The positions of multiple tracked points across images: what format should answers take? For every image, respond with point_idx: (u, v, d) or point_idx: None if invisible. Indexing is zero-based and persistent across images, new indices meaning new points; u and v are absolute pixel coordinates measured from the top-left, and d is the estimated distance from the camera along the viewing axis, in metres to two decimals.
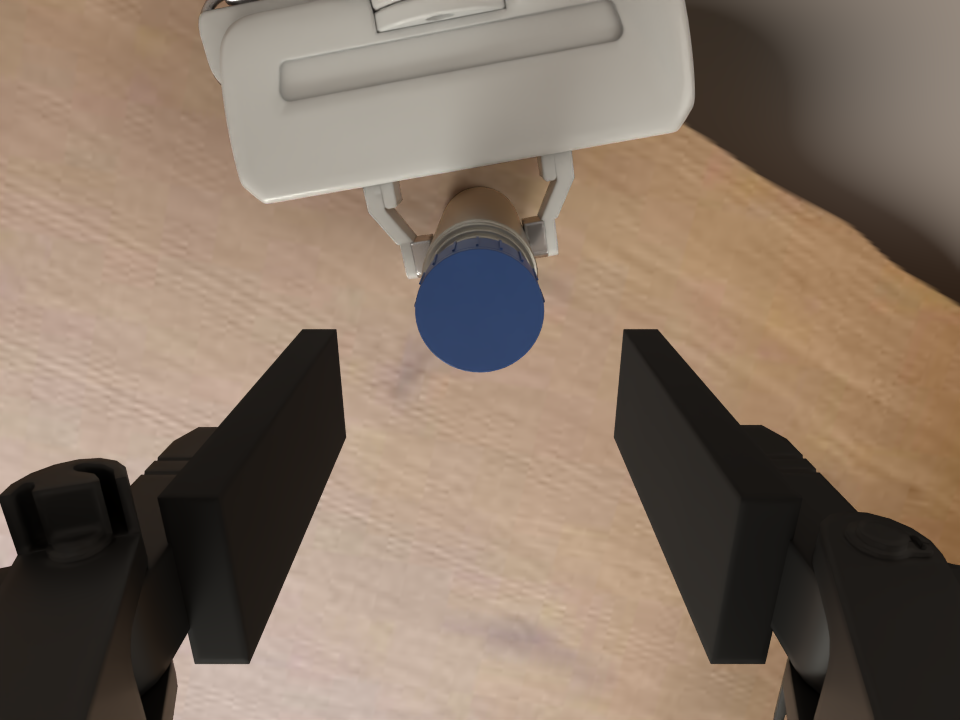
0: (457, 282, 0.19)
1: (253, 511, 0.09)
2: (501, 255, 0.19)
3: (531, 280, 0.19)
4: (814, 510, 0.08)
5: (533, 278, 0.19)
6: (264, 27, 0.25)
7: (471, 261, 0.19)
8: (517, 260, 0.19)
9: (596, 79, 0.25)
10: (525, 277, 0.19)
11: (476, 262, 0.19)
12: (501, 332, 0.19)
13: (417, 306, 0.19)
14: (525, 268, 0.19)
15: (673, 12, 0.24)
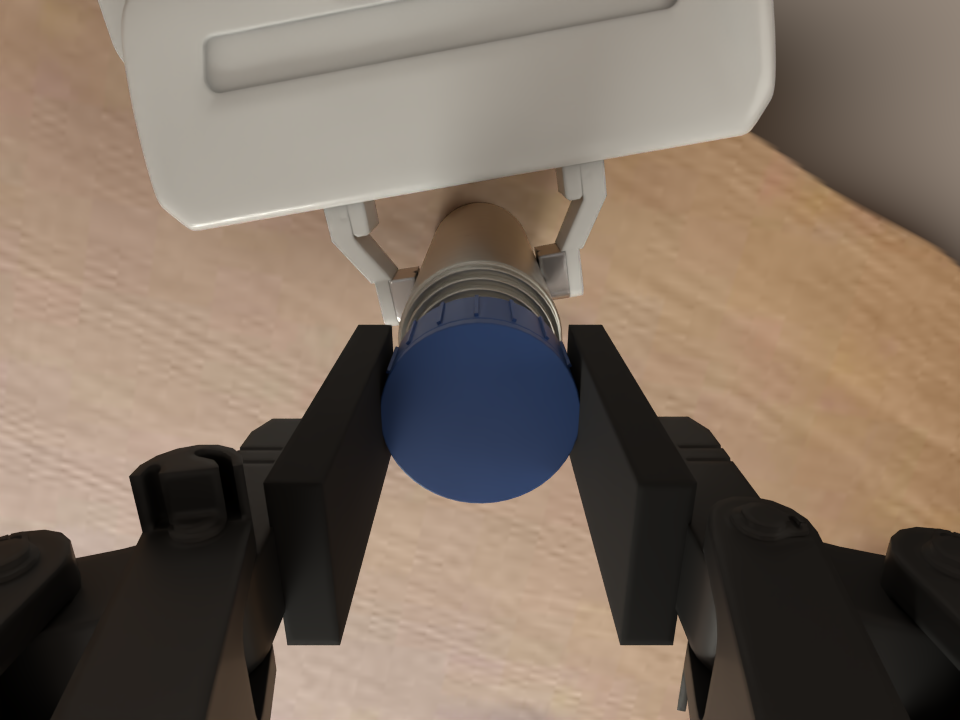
0: (445, 373, 0.12)
1: (342, 498, 0.09)
2: (514, 332, 0.12)
3: (561, 370, 0.12)
4: (718, 497, 0.09)
5: (565, 367, 0.12)
6: None
7: (467, 342, 0.12)
8: (540, 339, 0.12)
9: (641, 61, 0.18)
10: (552, 366, 0.12)
11: (475, 343, 0.12)
12: (514, 446, 0.13)
13: (383, 408, 0.12)
14: (552, 352, 0.12)
15: None
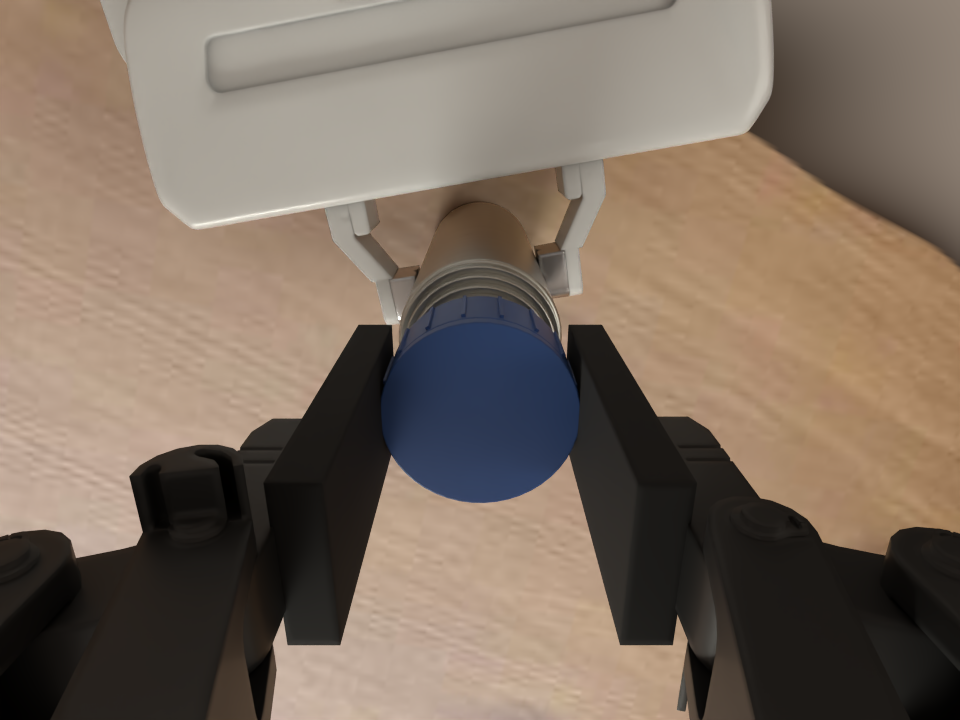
0: (449, 462, 0.13)
1: (342, 497, 0.09)
2: (384, 422, 0.12)
3: (399, 368, 0.12)
4: (718, 497, 0.08)
5: (394, 367, 0.12)
6: None
7: (411, 456, 0.13)
8: (381, 397, 0.12)
9: (639, 61, 0.18)
10: (398, 379, 0.12)
11: (410, 449, 0.13)
12: (496, 377, 0.12)
13: (506, 496, 0.13)
14: (385, 385, 0.12)
15: None
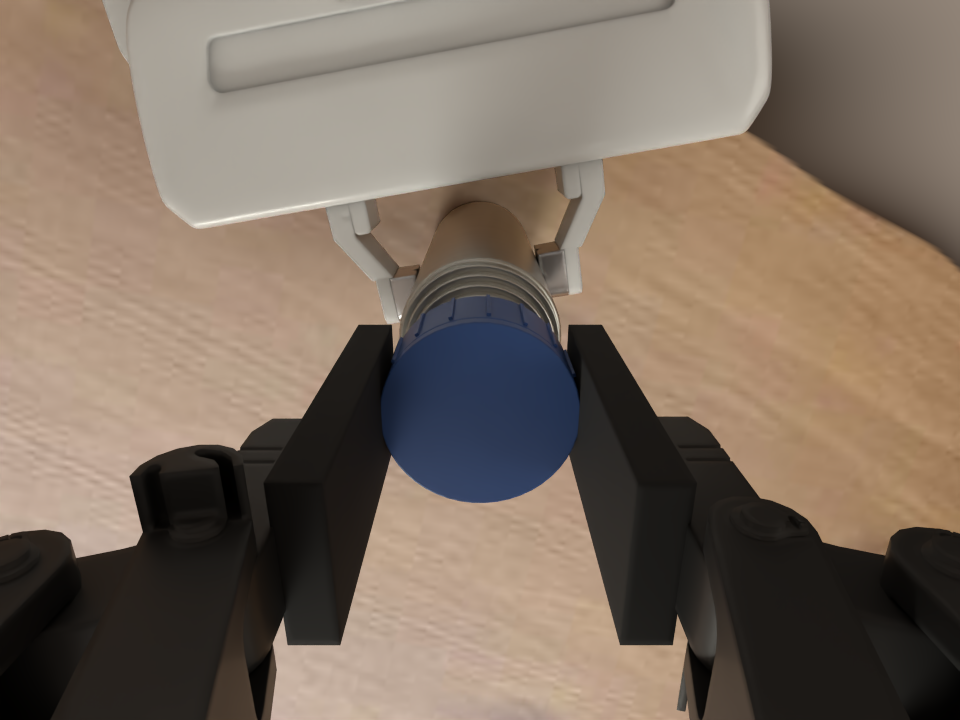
0: (538, 426, 0.12)
1: (342, 497, 0.09)
2: (520, 491, 0.13)
3: (463, 496, 0.13)
4: (718, 497, 0.08)
5: (463, 500, 0.13)
6: None
7: (545, 459, 0.13)
8: None
9: (638, 62, 0.18)
10: (473, 494, 0.13)
11: (539, 463, 0.13)
12: (433, 421, 0.12)
13: (557, 359, 0.12)
14: (482, 502, 0.13)
15: None
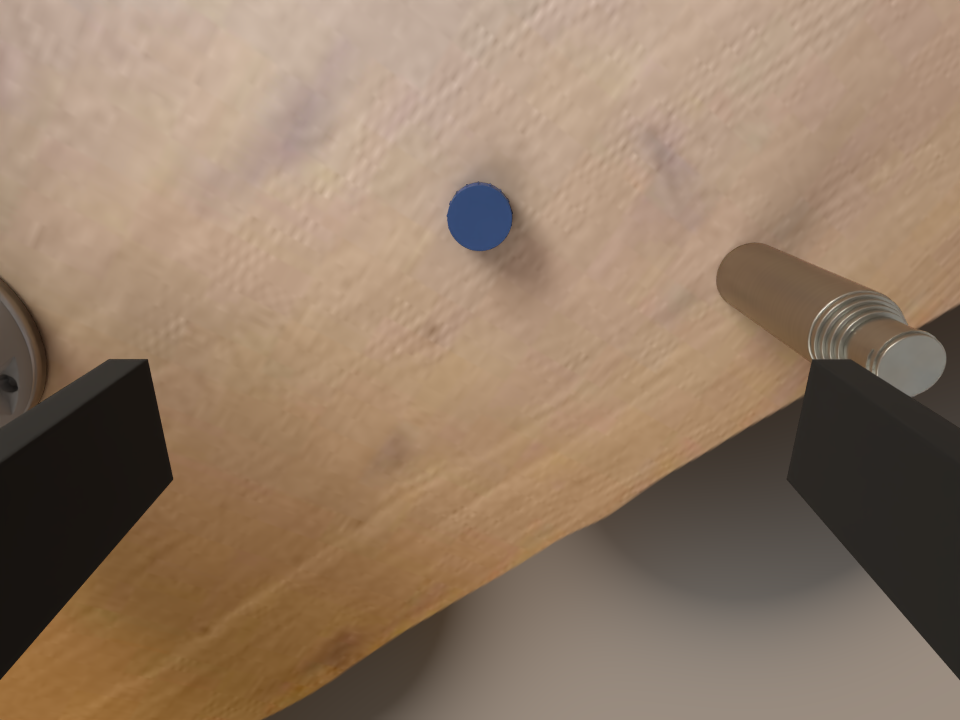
0: (475, 199, 0.38)
1: None
2: (500, 194, 0.38)
3: (509, 212, 0.38)
4: None
5: (510, 211, 0.38)
6: None
7: (485, 191, 0.38)
8: (506, 199, 0.38)
9: None
10: (507, 209, 0.38)
11: (487, 193, 0.38)
12: (486, 232, 0.39)
13: (451, 204, 0.38)
14: (509, 205, 0.38)
15: None
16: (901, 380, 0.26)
